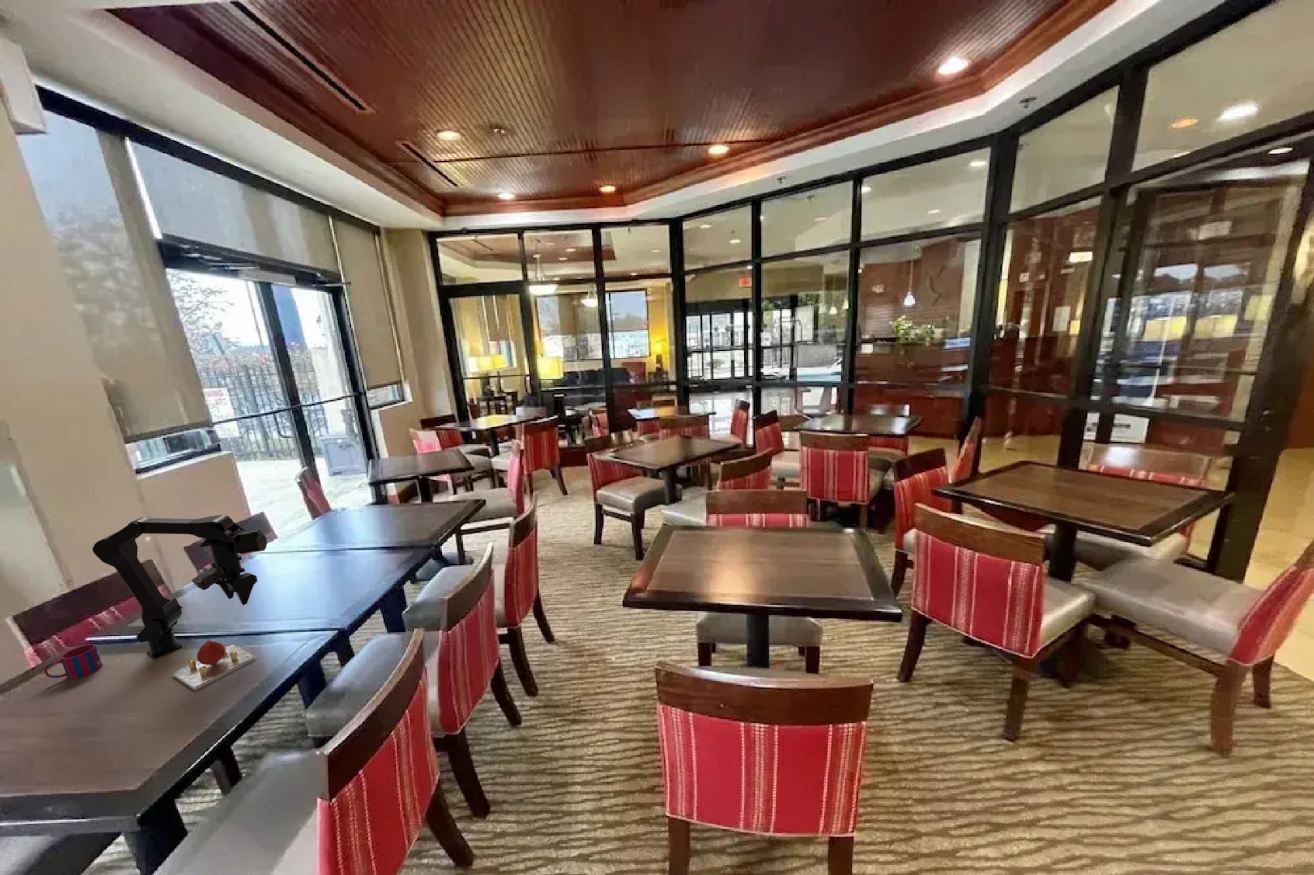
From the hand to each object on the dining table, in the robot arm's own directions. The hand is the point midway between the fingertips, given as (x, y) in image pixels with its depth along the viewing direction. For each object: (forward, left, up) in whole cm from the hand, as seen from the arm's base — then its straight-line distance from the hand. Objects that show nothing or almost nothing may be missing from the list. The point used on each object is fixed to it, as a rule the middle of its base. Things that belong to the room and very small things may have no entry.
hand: (237, 601), depth 151 cm
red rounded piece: (+11, -12, -11) cm, 20 cm away
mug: (-25, -31, -12) cm, 42 cm away
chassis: (+11, -12, -12) cm, 20 cm away
